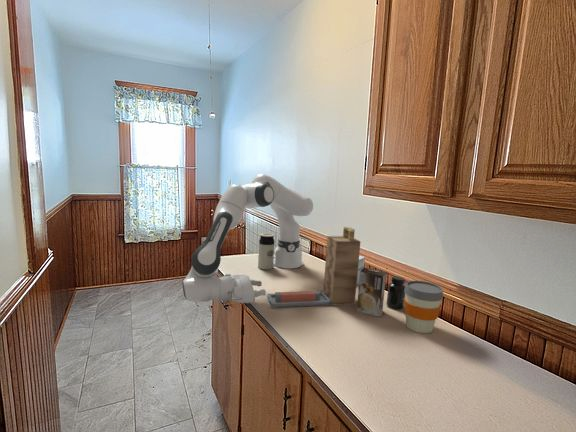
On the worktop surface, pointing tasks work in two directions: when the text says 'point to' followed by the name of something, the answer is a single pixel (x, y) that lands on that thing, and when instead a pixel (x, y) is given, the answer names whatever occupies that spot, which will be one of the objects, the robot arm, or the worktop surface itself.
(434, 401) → the worktop surface
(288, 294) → the bar
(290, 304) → the tray
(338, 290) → the tall wooden block
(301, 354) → the worktop surface
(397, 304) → the supplement bottle
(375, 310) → the coffee box
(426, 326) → the reusable coffee cup
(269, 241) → the travel mug
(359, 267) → the supplement box
